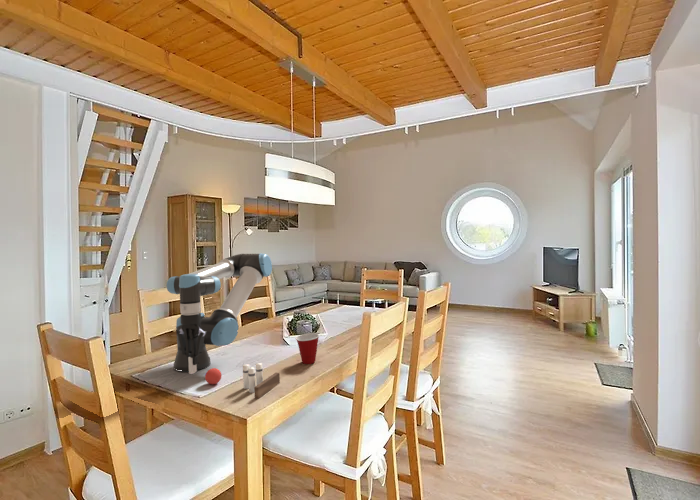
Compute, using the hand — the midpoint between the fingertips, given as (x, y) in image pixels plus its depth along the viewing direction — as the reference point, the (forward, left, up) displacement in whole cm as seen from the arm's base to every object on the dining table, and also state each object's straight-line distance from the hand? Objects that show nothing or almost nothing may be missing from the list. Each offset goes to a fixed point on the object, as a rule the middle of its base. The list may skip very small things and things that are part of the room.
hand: (192, 372), depth 155 cm
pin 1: (+28, -2, -4) cm, 29 cm away
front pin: (+24, 0, -4) cm, 25 cm away
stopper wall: (+33, 0, -4) cm, 34 cm away
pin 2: (+28, +3, -4) cm, 29 cm away
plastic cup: (+34, +33, -4) cm, 48 cm away
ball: (+9, 0, -1) cm, 10 cm away
